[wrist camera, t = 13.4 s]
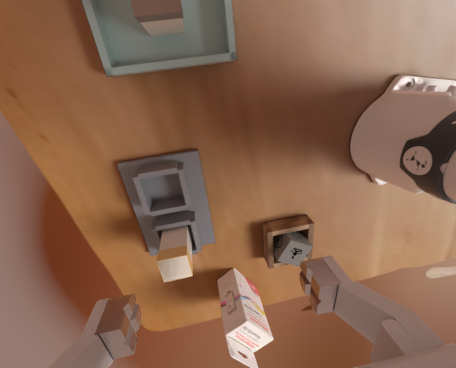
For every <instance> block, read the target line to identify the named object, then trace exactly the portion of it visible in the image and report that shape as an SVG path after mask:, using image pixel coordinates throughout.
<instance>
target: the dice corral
mask: <svg viewBox="0 0 456 368" xmlns="http://www.w3.org/2000/svg"><path fill="white" fill-rule="evenodd" d="M262 227H263V242H264V258H265V260H266V262H267V265H268V267H269V269H270V268H274V267H279V266H283V265H288V263H284V262H279V261H277V259H276V257H275V255H274V253H273V236H276V235H280V234H285V233H290V232H295V231H300V230H301V231H302V233H303V234H304V235H305V237H306V238H307V239H308V240H309V242H310V243H311V244H312V246H313V234H314V222H313V221H312V220H311V219H310V218H309V217H308V216H307V215H301V216H296V217H291V218H286V219H281V220H276V221H271V222H266V223H262ZM312 249H313V247H312ZM312 249H311V250H310V252H309V253H308V254H307V256H306V257H305V259H304V260H303V261H305V260H310V259H312Z"/></svg>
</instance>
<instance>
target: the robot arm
mask: <svg viewBox="0 0 456 368" xmlns="http://www.w3.org/2000/svg"><path fill="white" fill-rule="evenodd" d="M406 84H407V86H406ZM350 151H351V156H352V159H353V161H354V163H355V165H356V166H357V167H358V168H359V169H361V170H362V171H364V172H366V173H368V174H369V175H370V177H371V179H372V181H373V182H374V183H376V184H379V185H383V184H386V183H389V184H392V185H394V186H397V187H399V188H402V189H404V190H407V191H410V192H412V193H416V194H419V193H422V192H427V193H429V194H430V195H431V196H433V197H436V198H438V199H441V200H445V201H448V202H450V203H454V204H456V80H447V79H437V78H427V77H417V76H407V75H399V76H397V77H396V78H395V79H394V80H393V81H392V82H391V84H390V85H389V86H388V88H387V89H386V91H385V92H384V94H383V95H382V96H381V97H379V98H378V99H377V100H376V101H375V102H373V103H372V104H371V105H370V106H369V107H368V108H367V109H366V110H365V112H364V113H363V114H362V116H361V117H360V119H359V120H358V122H357V124H356V126H355V128H354V131H353V134H352V138H351V144H350ZM300 268H301V269H302V271H301V272H300V283H301V286H302V289H303V291H304V293H305V294H307V295H308V296H310V299H309V302H310V304H311V306H312V307H313V309H314V311H315V313H316V314H322V313H327V312H333V311H334V313H335V314H337V315H338V316H339V317H340V318H342V319H343V320H344V321H345V322H347V323H348V324H349V325H350V326H352V327H353V328H354V329H355V330H357V331H358V332H359V333H360V334H362V335H363V336H364V337H366V338H367V339H368V340H369V341H370V342H372V343H373V344H374V346H373V349H372V352H371V355H370V359H371V360H372V362H373V363H370V364H366V365H362V366H358V367H355V368H456V343H452V344H448V345H446V344H445V343H444V342H443V341H442V340H441V339H440V338H439V337H438V336H437V335H436V334H435V333H434V332H433V331H432V330H431V329H430V328H429V327H428V326H427V325H426V324H425V323H424V322H423V321H422V320H421V319H420V318H419V317H418V315H417V314H416V313H414V312H413V311H411V310H409V309H407V308H405V307H403V306H401V305H399V304H397V303H396V302H394V301H392V300H390V299H388V298H386V297H384V296H382V295H380V294H379V293H377V292H375V291H373V290H371V289H369V288H367V287H365V286H364V285H362V284H360V283H358V282H356V281H354V282H353V281H352V280H351V279H350V278H349V277H348V275H347V274H346V273H345V272H344V270H343V269H342V268H341V267H340V266H339V264H338V263H337V262H336V261H335V259H334V258H333V257H332V256H326V257H321V258H315V259H310V260H305V261H301V263H300ZM135 302H136V298H135V296H134V294H132V295H125V296H119V297H114V298H109V299H103V300H99V301H98V302H97V303H96V304H95V306H94V308H93V311H92V313H91V315H90V317H89V320H88V322H87V324H86V327H85V329H84V331H83V334H82V336H81V338H79V339H76V340H75V341H74V342H73V343H72V344H71V345H70V346H69V347H68V348H67V349H66V350H65V351H64V352H63V353H62V354H61V355H60V356H59V358H57V359H56V360H55V362H54V363H53V364H52V365H51V366H50V367H49V368H109V367H110V365H111V364H112V362H113V360H114V359H118V358H122V357H126V356H129V355H133V354H134V351H135V346H136V342H137V336H136V334H135V333H136V331H137V330H138V329H139V327H140V323H141V310H140V307H139V305H137V304H135Z"/></svg>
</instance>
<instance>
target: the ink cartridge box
mask: <svg viewBox="0 0 456 368" xmlns="http://www.w3.org/2000/svg"><path fill="white" fill-rule="evenodd" d="M217 282H218V289H219V296H220V303H221V311H222V317H223V324H224V331H225V336H226V340H227V344H228V350H229V354H230V356H231V357H233V358H234V359H236V360H238V361H239V362H241V363H243V364H245V365H247V366H248V367H250V368H258V366H257V362H256V359H255V357H254V352H255V351H257V350H259V349H260V348H261V347H263V346H265V345H266V344H268V343H269V342H271V341H272V340H273V337H272V334H271V331H270V328H269V325H268V322H267V319H266V316H265V313H264V310H263V306H262V303H261V300H260V297H259V294H258V291H257V288H256V286H255V285H254V284H253V283H251V282H250V281H249V280H248V279H247V278H245V277H244V276H243V275H242V274H241V273H239V272H238V271H237V270H236V269H235V268H232V269H231V270H230V271H228V272H227V273H226V274H225V275H223V276H222V277H221V278H219V279H218V280H217ZM238 351H240V352H242V353H244V354H245V355H246V356H247V358H248V359H247V358H245V359H244V358H243V357H242V356H241V355H240V354H239V353H238Z"/></svg>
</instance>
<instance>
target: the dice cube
mask: <svg viewBox="0 0 456 368" xmlns="http://www.w3.org/2000/svg"><path fill="white" fill-rule="evenodd" d="M312 247H313V246H312V244H311V243H310V242H309V240H308V239H307V238H306V237H305V235H304V234H303V233H302V231H301V230H300V231H295V232H290V233H285V234H280V235H276V236H273V253H274V255H275V257H276V259H277V261H279V262H284V263H288V264H292V265H296V266H300V263H301V261H303V260H304V259H305V257H306V256H307V254H308V253H309V252H310V250H311V249H312Z"/></svg>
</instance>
